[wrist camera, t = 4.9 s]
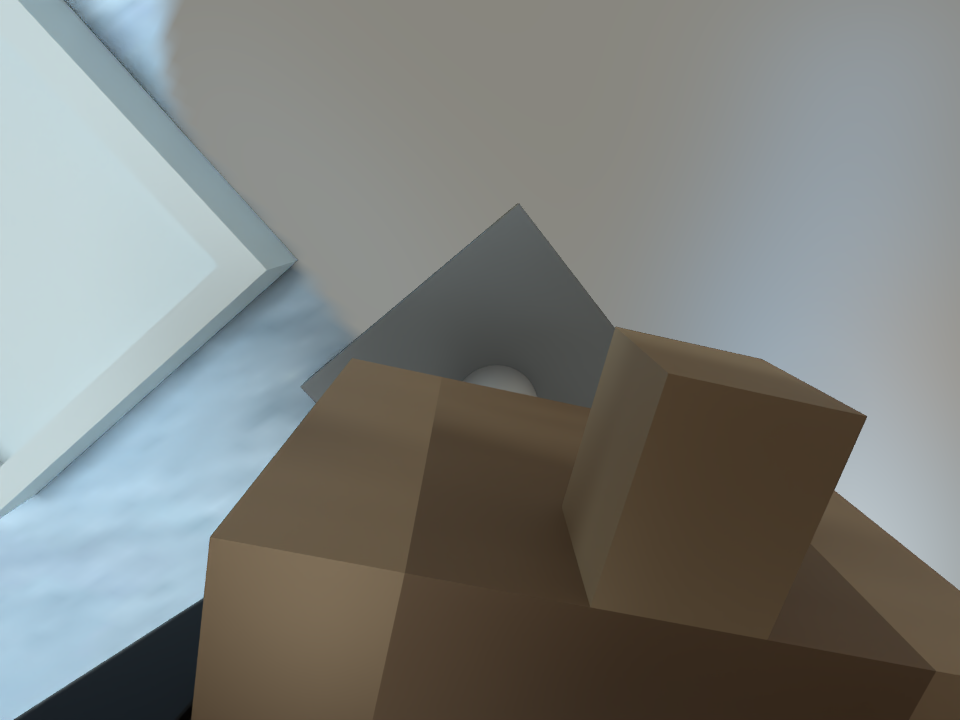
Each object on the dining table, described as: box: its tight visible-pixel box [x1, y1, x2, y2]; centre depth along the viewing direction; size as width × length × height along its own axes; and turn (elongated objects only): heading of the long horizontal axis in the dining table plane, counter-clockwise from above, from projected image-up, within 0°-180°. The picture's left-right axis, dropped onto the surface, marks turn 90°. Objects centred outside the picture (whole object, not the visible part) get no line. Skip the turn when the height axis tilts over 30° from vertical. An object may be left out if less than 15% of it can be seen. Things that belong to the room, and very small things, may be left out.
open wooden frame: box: [191, 327, 960, 720], centre depth 6 cm, size 8×6×4 cm
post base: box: [301, 204, 615, 408], centre depth 14 cm, size 8×8×6 cm
